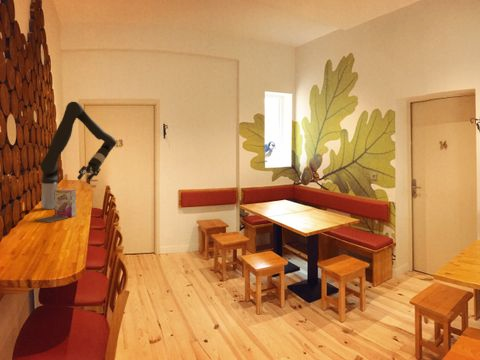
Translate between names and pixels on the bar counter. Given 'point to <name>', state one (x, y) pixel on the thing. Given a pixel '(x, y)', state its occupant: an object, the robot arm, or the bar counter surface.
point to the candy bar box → (65, 202)
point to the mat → (52, 218)
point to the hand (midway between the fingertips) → (83, 179)
